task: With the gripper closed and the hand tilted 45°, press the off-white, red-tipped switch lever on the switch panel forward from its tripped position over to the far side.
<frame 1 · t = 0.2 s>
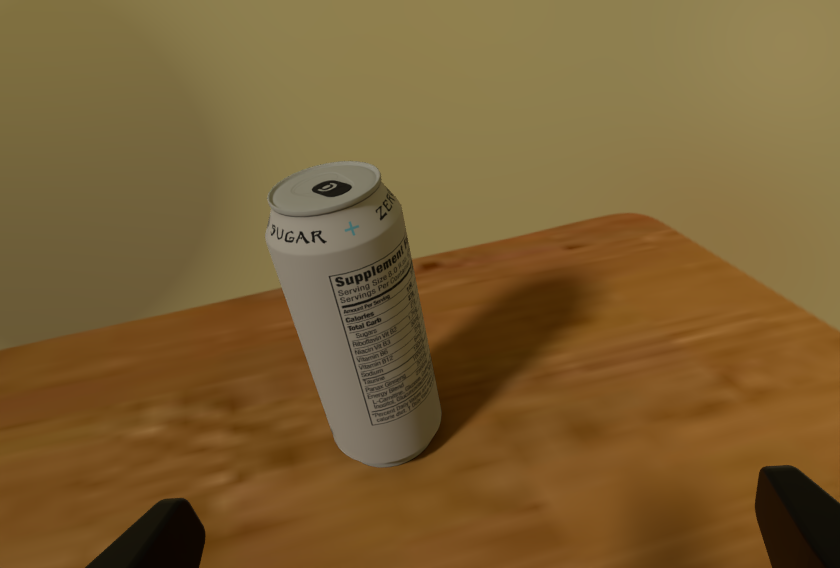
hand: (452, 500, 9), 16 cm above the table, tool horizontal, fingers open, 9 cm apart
energy drink can: (391, 433, 33), on the table
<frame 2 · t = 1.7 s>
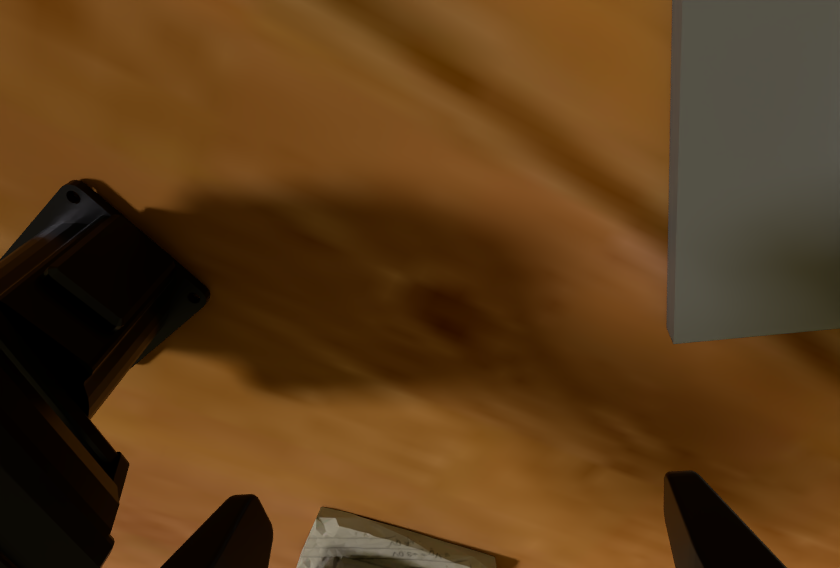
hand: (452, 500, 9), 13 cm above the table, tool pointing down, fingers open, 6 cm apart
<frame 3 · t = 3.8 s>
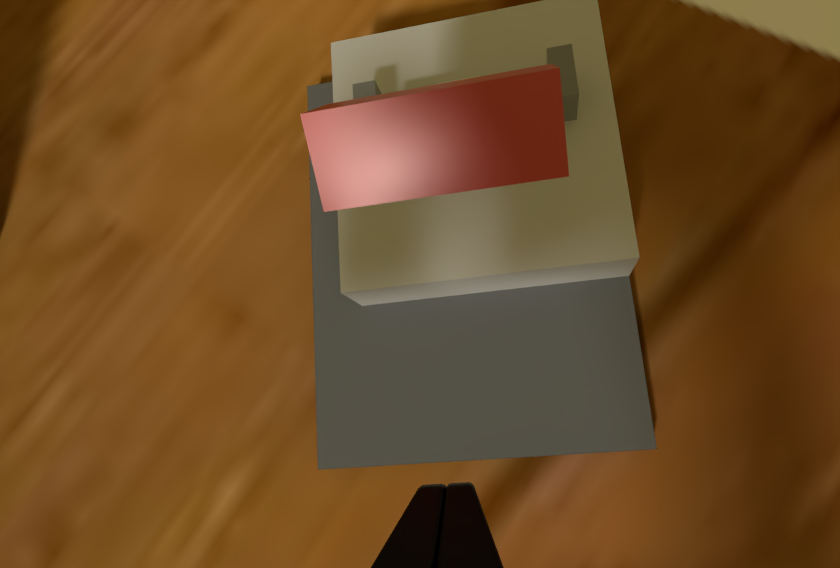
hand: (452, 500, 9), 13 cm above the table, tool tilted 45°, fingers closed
switch lever: (453, 114, 16), point 8 cm above the table, hinge at -35.0°
switch panel: (478, 155, 25), on the table
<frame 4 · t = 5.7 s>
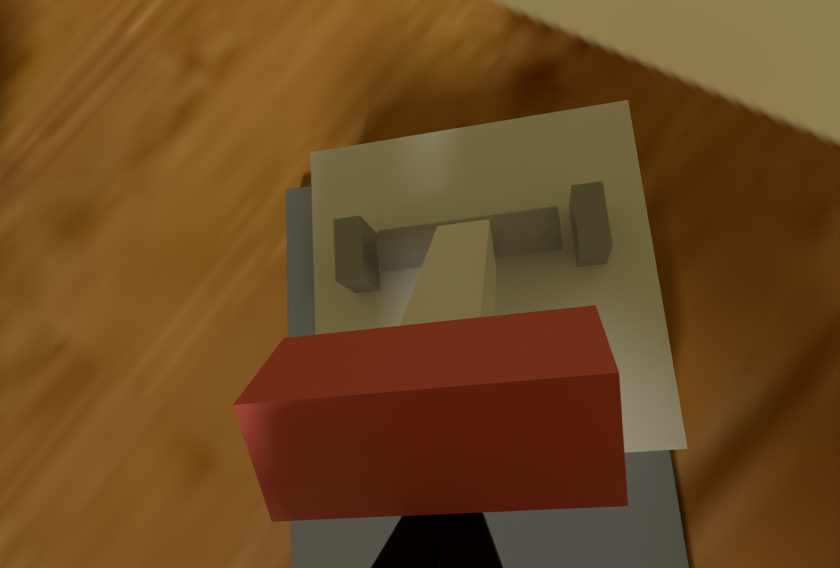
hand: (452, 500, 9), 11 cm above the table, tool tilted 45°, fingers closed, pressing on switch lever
switch lever: (456, 303, 13), point 8 cm above the table, hinge at -34.7°, touching gripper
switch panel: (485, 277, 21), on the table
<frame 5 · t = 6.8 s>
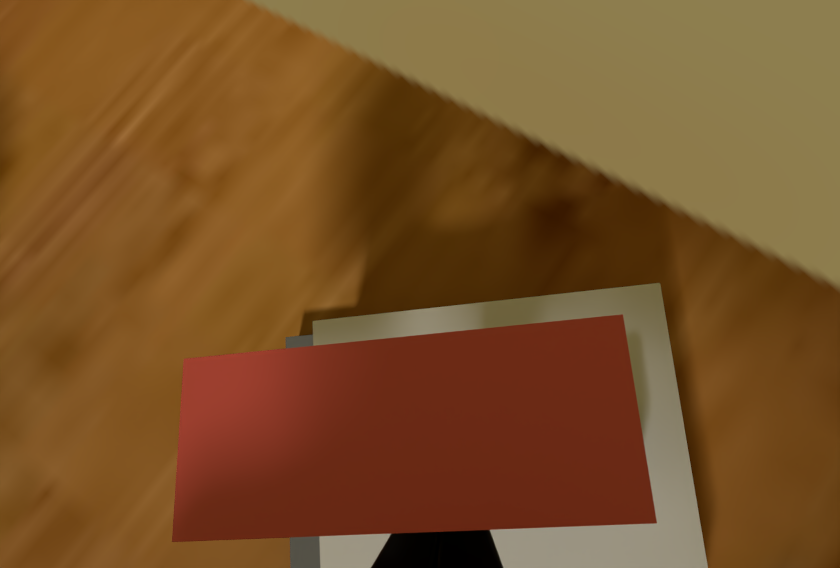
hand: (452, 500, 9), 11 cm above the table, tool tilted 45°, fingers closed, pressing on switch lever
switch lever: (461, 444, 11), point 9 cm above the table, hinge at 4.6°, touching gripper
switch panel: (500, 441, 19), on the table
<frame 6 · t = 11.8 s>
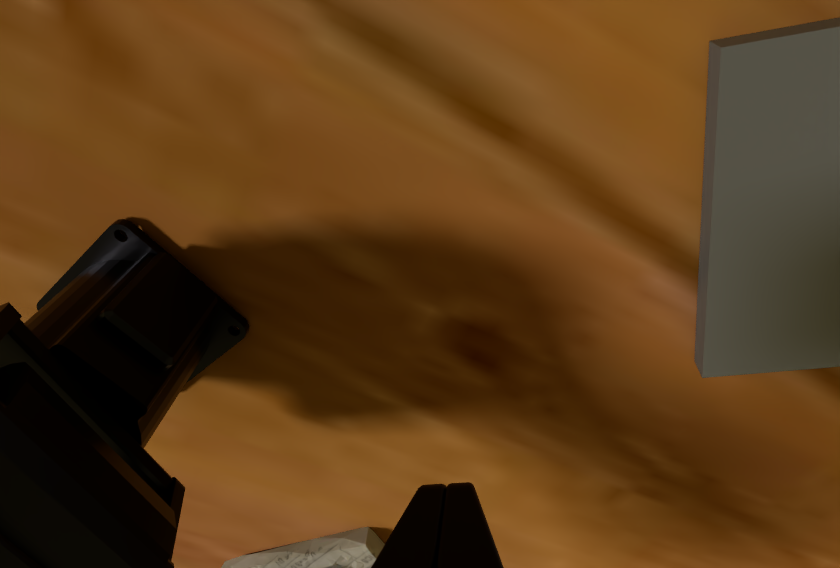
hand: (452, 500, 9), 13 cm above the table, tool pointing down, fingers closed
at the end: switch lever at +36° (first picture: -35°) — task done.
